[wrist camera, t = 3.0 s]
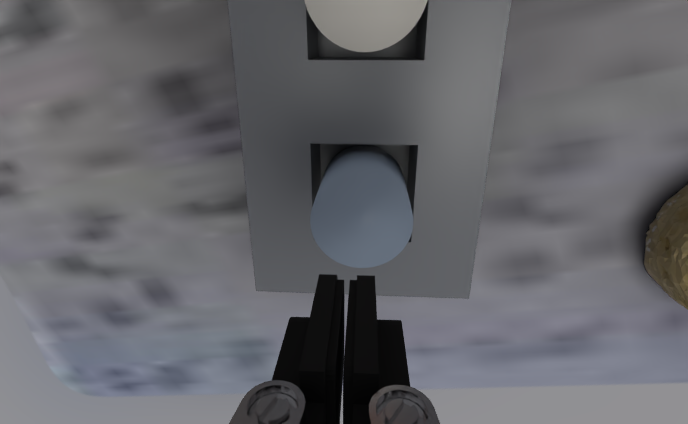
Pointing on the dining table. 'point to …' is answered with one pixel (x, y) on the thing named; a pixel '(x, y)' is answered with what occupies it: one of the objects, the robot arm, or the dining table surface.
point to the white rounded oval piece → (365, 21)
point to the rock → (670, 247)
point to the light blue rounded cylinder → (362, 208)
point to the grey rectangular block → (367, 136)
